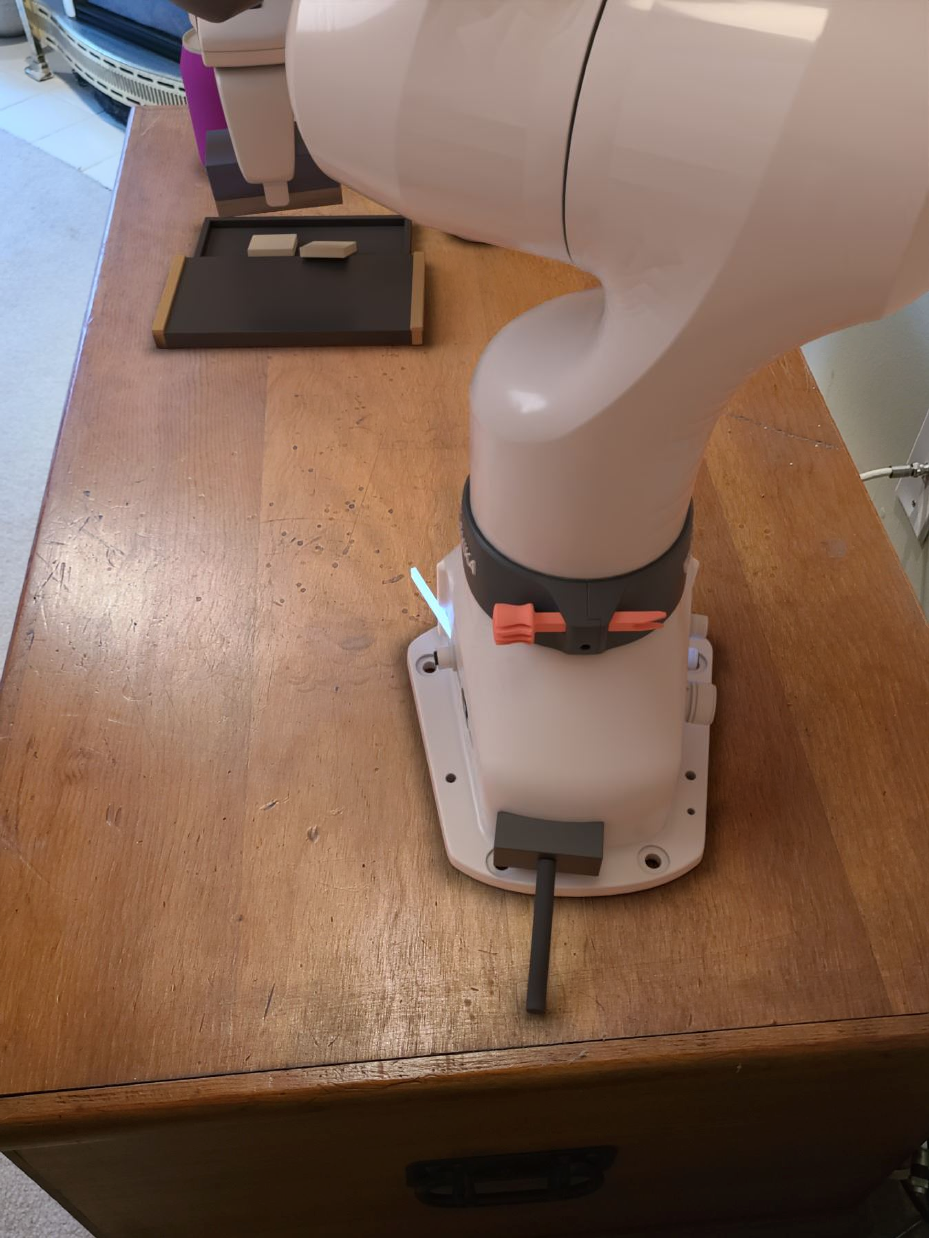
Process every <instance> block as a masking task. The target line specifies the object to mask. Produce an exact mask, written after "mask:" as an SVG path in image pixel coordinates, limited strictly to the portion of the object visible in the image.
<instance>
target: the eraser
mask: <svg viewBox="0 0 929 1238" xmlns="http://www.w3.org/2000/svg"><path fill="white" fill-rule="evenodd" d="M294 132H295V171H294V176H293V178H292V179H291V180H290V181H287V182H288V189H289V203H288V204H287V205H286V206H274V207H272V206H270V205H268V204H267V202H266V197H265V191H264V185H263V183H260V184H252V183H248V182H247V181H246V180H245V178H244V176H243V174H242V172H241V170H240V167H239V165H238V162H237V158H236V155H235V151H234V148H233V144H232V140H231V137H230V133H229V130H228V129H220V130H212V131H207V133H206V156H205V167H204V168H205V172H206V175H207V178H208V182H209V186H210V189H211V192H212V196H213V200H214V203H215V207H216V211H217V214H218V217H220V218H226V217H244V216H253V215H261V214H268V213H275V212H276V213H277V212H285V211H293V210H303V209H312V208H320V207H329V206H339V205H343V204H344V197H343V187H342V186H343V185H342V184H340V183H338V182H337V181H335V180H333V179H331V178H330V177H328V176H327V175H326V174H325V173H324V172H323V171H322V170H321V169H320V168H319V167H318V166H317V164H316V163H315V161H314V160H313V158H312V157H311V155H310V153H309V151H308V149H307V147H306V145H305V143H304V141H303V139H302V136H301V134H300V131H299V129H298V126H297V123H296V120H294Z"/></svg>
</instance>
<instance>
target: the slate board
mask: <svg viewBox="0 0 929 1238" xmlns="http://www.w3.org/2000/svg"><path fill="white" fill-rule="evenodd" d="M426 271H427V270H426V252H425V251H413V253H412V254H411V255H348V256H346V257H345V258H324V257H300V256H260V257H194V256H187V255H186V254H182V253H180V254H179V253H178V254H177V253H175V254H174V255H173V259H172V262H171V264H170V268H169V271H168V274H167V278H166V281H165V285H164V288H163V291H162V294H161V297H160V301H159V303H158V307H157V310H156V314H155V317H154V320H153V323H152V326H151V334H152V337H153V341H154V344H155V347H156V349H181V348H182V349H183V348H184V349H185V348H187V349H189V348H255V347H256V348H269V347H270V348H273V347H275V348H278V347H283V348H284V347H360V346H361V347H362V346H363V347H365V346H367V347H368V346H369V347H370V346H371V347H373V346H423V345H424V341H425V339H424V338H425V337H424V336H425V307H426V305H425V303H426V301H425V300H426Z"/></svg>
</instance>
